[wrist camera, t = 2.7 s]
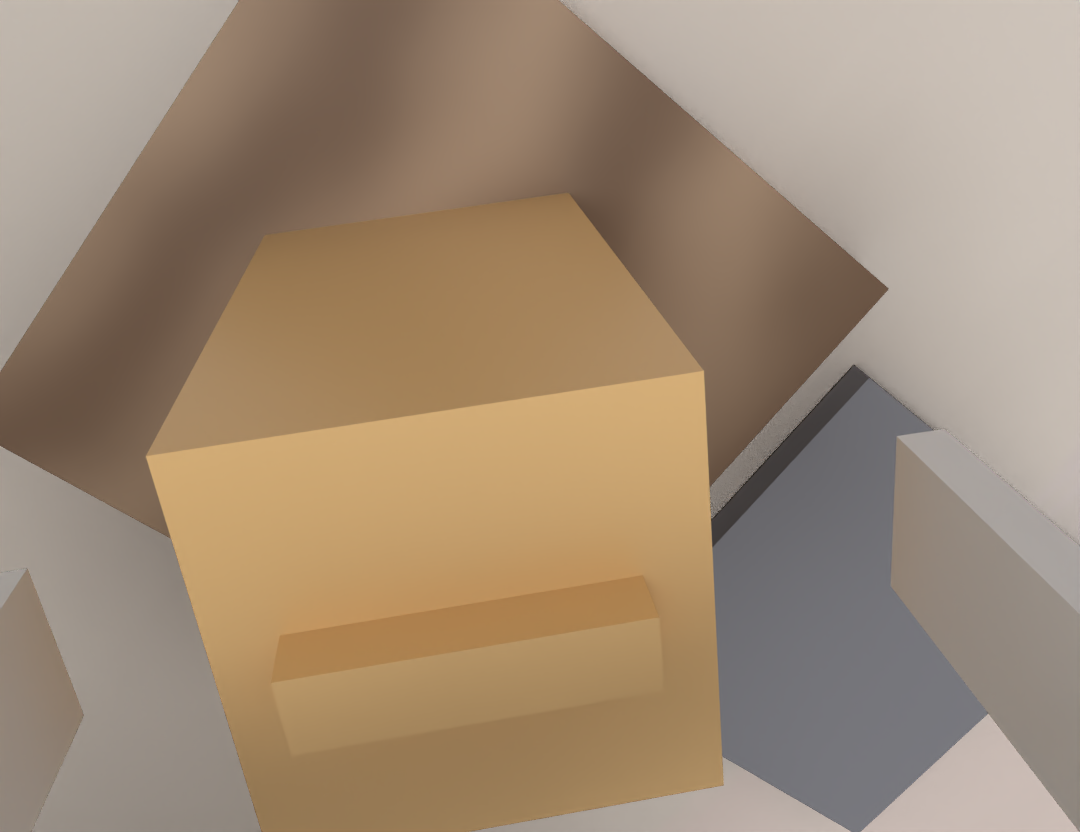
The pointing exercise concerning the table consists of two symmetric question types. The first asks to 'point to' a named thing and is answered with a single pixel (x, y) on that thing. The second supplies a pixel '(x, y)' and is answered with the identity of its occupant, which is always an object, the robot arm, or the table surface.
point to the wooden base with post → (412, 188)
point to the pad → (829, 619)
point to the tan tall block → (449, 525)
